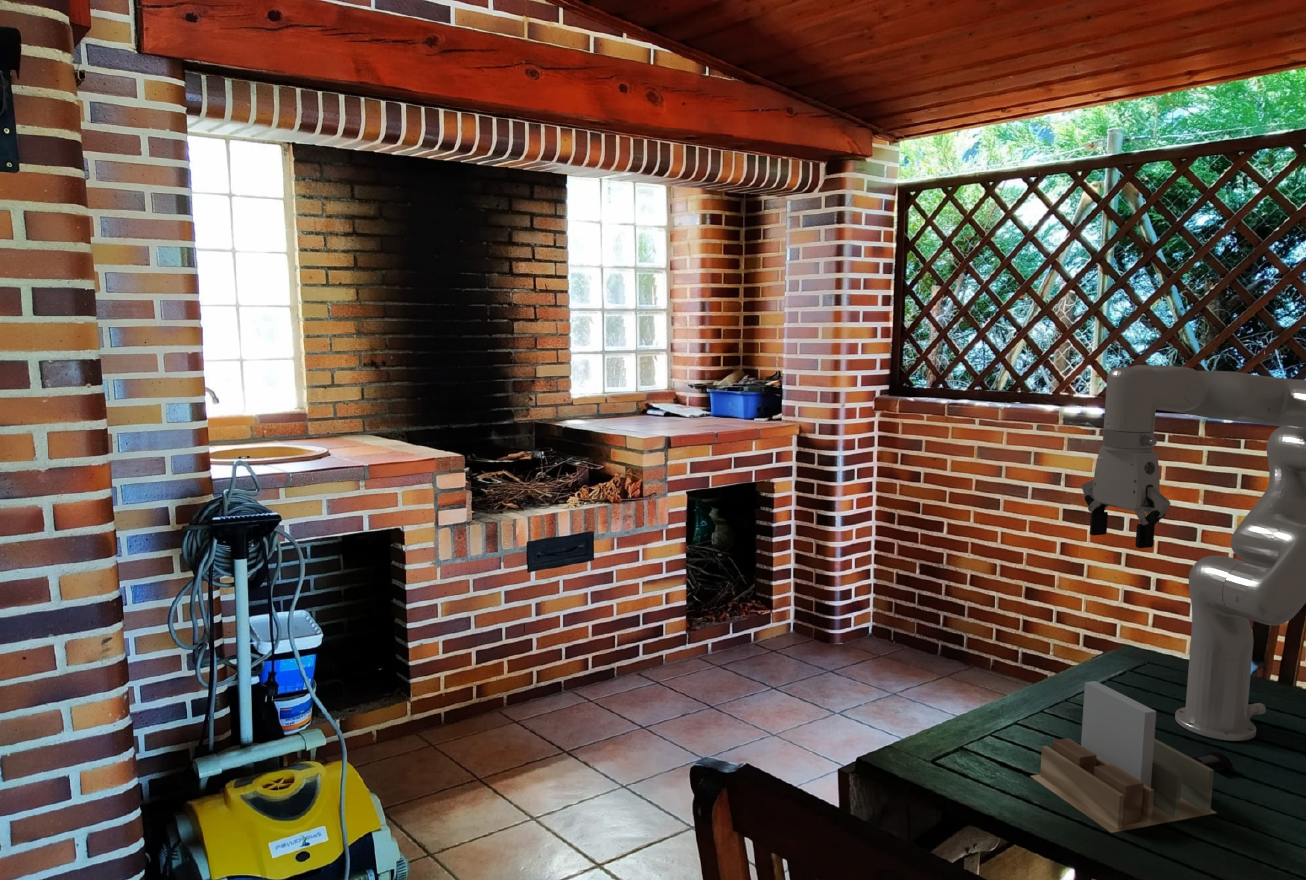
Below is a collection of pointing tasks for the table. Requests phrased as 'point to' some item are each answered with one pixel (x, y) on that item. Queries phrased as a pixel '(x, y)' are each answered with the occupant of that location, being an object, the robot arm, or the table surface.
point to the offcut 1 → (1075, 754)
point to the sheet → (1119, 730)
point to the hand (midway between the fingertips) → (1120, 540)
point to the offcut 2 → (1124, 790)
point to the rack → (1171, 797)
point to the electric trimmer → (1215, 761)
